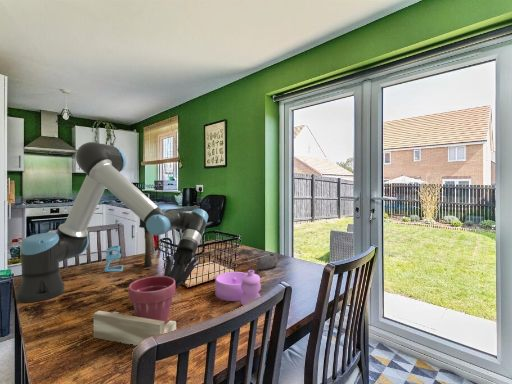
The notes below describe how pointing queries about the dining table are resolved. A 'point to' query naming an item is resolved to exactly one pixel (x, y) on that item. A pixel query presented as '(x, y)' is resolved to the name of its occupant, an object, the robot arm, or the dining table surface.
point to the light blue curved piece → (113, 257)
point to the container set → (237, 286)
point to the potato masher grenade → (146, 244)
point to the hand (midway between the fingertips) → (165, 302)
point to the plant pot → (152, 297)
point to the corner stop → (128, 327)
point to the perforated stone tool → (267, 261)
